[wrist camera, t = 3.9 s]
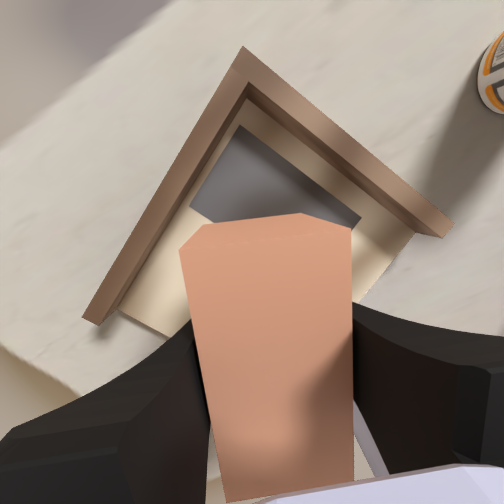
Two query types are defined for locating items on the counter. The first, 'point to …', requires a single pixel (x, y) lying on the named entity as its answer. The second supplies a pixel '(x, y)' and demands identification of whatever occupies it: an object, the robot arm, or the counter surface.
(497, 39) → the pill bottle
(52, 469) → the robot arm
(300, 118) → the tray
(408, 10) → the counter surface
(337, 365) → the terracotta bar
